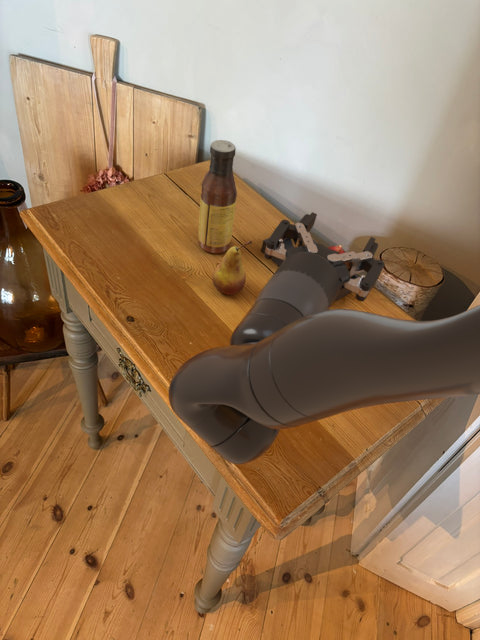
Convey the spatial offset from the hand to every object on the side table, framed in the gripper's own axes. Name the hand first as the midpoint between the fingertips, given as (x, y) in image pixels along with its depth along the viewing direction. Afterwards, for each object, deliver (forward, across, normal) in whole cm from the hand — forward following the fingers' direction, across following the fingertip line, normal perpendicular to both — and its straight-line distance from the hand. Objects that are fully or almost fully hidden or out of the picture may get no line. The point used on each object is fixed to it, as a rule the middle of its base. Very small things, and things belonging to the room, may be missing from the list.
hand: (341, 230), depth 63 cm
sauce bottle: (+9, +23, +20) cm, 32 cm away
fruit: (0, +15, +20) cm, 25 cm away
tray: (+14, +5, +20) cm, 25 cm away
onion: (+12, +1, +19) cm, 23 cm away
